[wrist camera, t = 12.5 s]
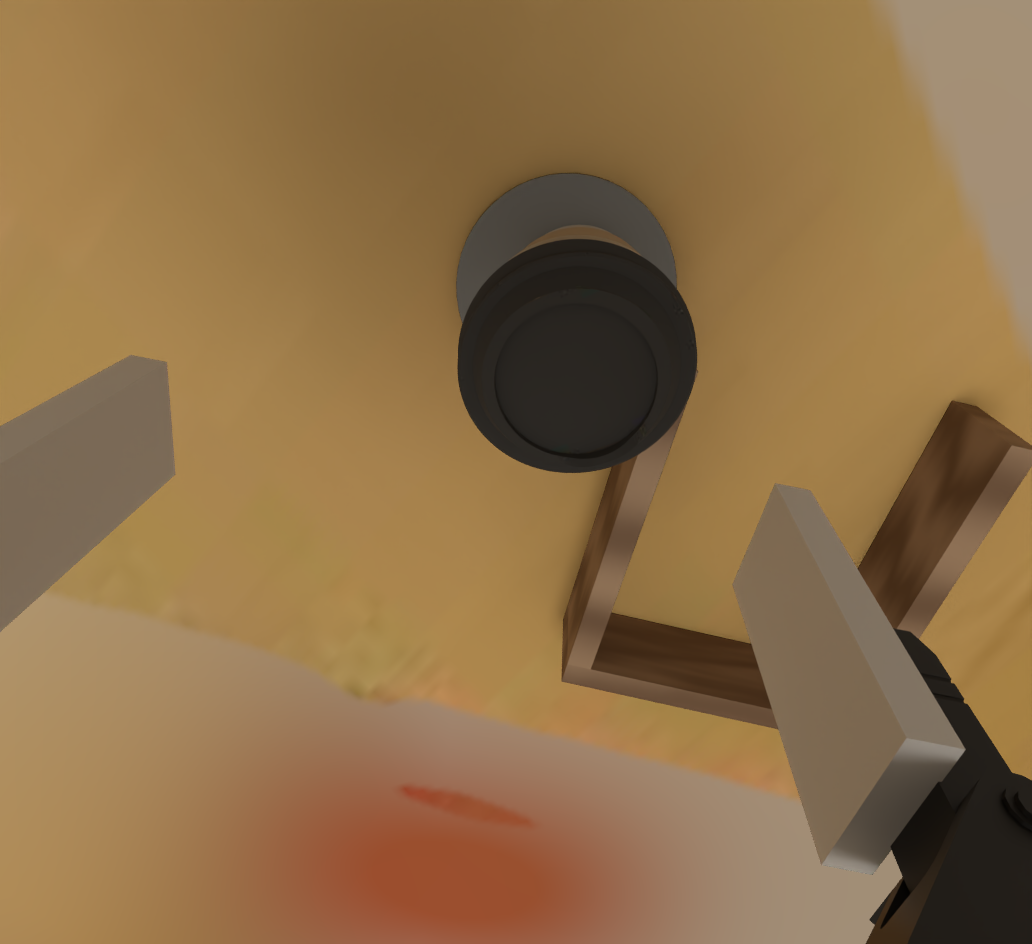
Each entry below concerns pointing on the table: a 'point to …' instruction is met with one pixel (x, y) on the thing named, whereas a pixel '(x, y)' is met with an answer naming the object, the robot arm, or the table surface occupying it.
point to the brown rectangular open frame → (885, 568)
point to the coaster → (556, 225)
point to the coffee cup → (576, 353)
